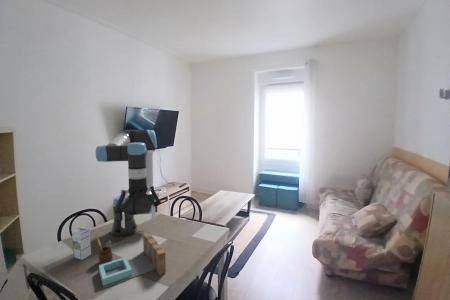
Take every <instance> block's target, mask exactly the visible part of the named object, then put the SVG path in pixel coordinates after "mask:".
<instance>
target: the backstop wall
mask: <svg viewBox="0 0 450 300" xmlns="http://www.w3.org/2000/svg"><path fill="white" fill-rule="evenodd" d="M142 236H143V237H142V239H143V240H142V241H143V244H142V245H143V253H144V254H145V255H147V256H148V258H149V259H150V261H151V262H152V264H153V266H154V267H155V269H156V270H155V271H156V273H157V274H158V276H161V275H163V274H166V273H167V271H166V269H167V268H166V266H167V265H166V264H167V263H166V251H165V250H164V249H163V248H162V246H161V245H160V244H159V243H158V242H157V240H156V239H155V238H154V237H153V235H152V234H151V233H150V232H149V231H147V232H145V233H144V232H143V234H142Z"/></svg>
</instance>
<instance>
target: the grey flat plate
mask: <svg viewBox="0 0 450 300" xmlns="http://www.w3.org/2000/svg"><path fill="white" fill-rule="evenodd" d="M127 261H128V263H129V265H130V267H131V269H132V276H129V277H126V278H124V279H121V280H118V281H115V282H113V283H110V284H107V285H104V286H103V284H102V283H101V284H102V288H103V289H107V288H109V287H111V286H114V285H115V286H116V285H118V284H120V283H123V282H125V281H128V280H131V279H133V278H137V277H139V276H142V275H144V274H147V273H150V272H153V271H156V269H155V267H154V266H153V264H152V262H151V261H150V259H149V258H148V256H147V255H146V254H145V255H142V256H137V257H136V258H132V259H130V260H127ZM122 270H125V269H124V266H120V267H117V268H114V269H111V270H108V271H105V273H106V276H107V275H110V274H113V273H116V272H119V271H122ZM99 276H100V275H99ZM100 278H101V276H100ZM100 281H101V282H102V280H101V279H100Z"/></svg>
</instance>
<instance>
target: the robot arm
mask: <svg viewBox="0 0 450 300" xmlns="http://www.w3.org/2000/svg"><path fill="white" fill-rule="evenodd" d="M157 148H158V141H157V137H156V132H155V130H153V129H127V130H122V131H120V132H118V133H116V134H115V135H114V136H113V137H112V140H111V141H110V142H108V144H107V145H98V146H96V148H95V159H96V161H97V162H99V163H100V162H104V163H108V162H110V163H111V162H112V163H113V162H127V167H128V168H127V171H128V174H127V175H128V176H127V177H128V189H121V191H120V195H118V196H116V197H115V198H113V200H112V201H113V202H112V207H113V210H112V211H113V212H112V213H113V223H112V226H111V229H110V233H111V235H112V236H113V237H117V238H119V237H120V238H121V237H128V236H131V235H132V234H135V233H136V232H137V231H138V225H137V223H136V220H135V218H134V217H135V216H137V215H138V216H139V215H149V214H151V219H152V220H153V221H156V213H157V212H158V206H159V205H161V203H162V202H161V200H160V198H159V195H158V194H157V192H156V191H155V187H154V160H153V154H154V152H155V151H156V149H157Z"/></svg>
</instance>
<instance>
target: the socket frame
mask: <svg viewBox="0 0 450 300" xmlns="http://www.w3.org/2000/svg"><path fill="white" fill-rule="evenodd" d="M128 261H129V260H128V259H127V257H126V256H125V257H121V258H118V259H115V260H114V259H113V260H112V261H111V262H108V263H104V264H99V265H98V273H99V276H101V277H100V281H101V280H102V281H101V284H103V285H102V287H103V286H104V285H107V284H110V283H113V282H115V281H118V280H121V279H124V278H126V277H129V276H132V269H131V267H130V265H129V263H128ZM120 266H124V269H125V270H122V271H119V272H116V273H113V274H110V275H107V276H106V273H105V271H108V270H111V269H114V268H117V267H120Z"/></svg>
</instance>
